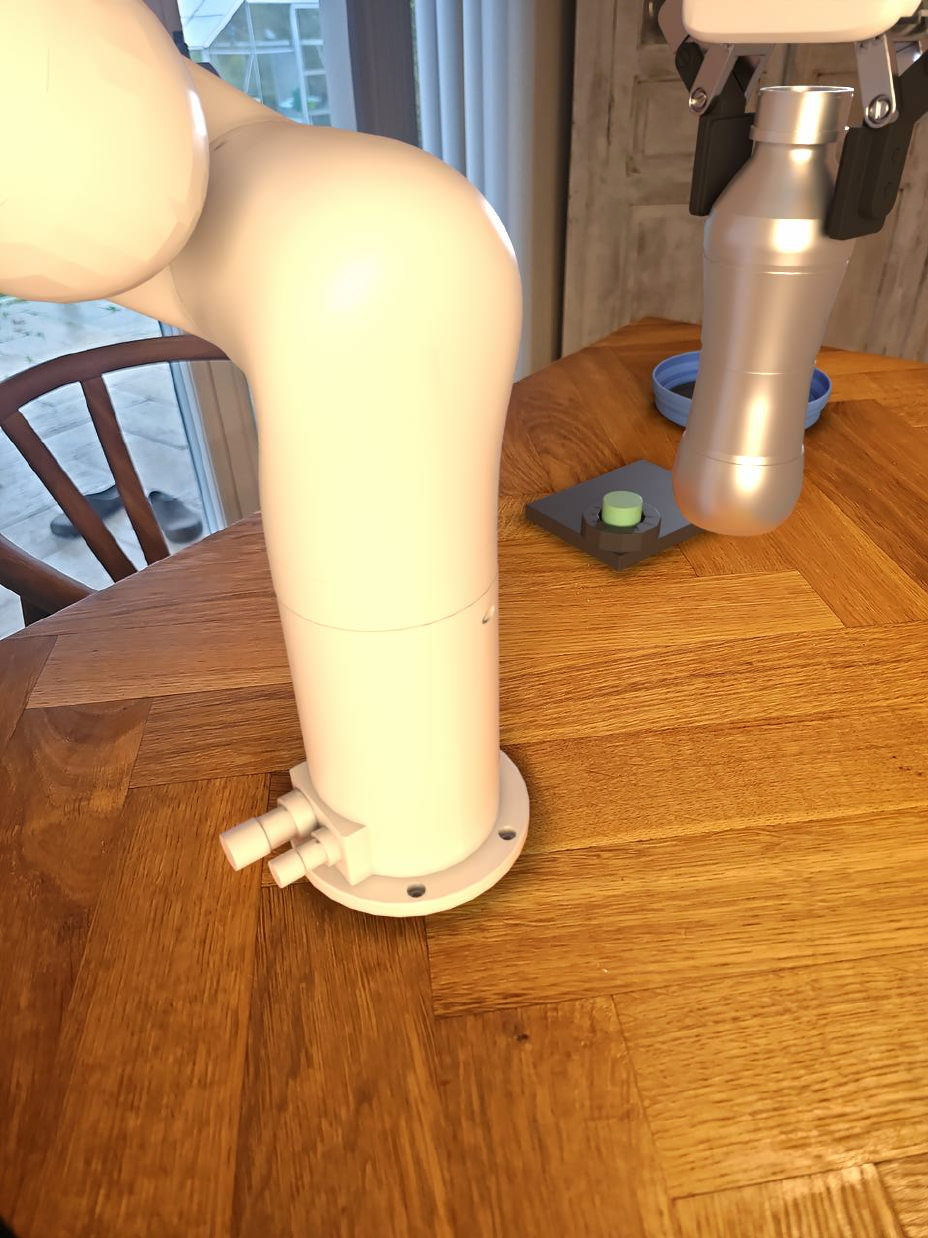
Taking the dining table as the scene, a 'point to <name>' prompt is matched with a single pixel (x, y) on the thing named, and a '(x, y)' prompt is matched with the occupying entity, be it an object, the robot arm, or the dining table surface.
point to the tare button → (622, 509)
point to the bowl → (679, 379)
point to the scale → (617, 547)
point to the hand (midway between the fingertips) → (781, 219)
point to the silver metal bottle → (764, 316)
